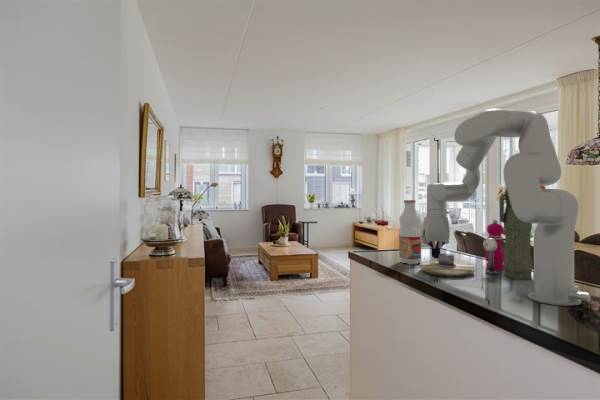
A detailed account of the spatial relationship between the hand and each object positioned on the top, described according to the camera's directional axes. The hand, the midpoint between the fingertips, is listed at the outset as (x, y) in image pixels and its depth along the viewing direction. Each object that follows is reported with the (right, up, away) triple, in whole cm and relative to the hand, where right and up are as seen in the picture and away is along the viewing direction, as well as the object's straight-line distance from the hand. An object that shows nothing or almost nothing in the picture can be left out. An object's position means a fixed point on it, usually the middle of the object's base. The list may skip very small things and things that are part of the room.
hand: (435, 257), depth 151 cm
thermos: (+23, -5, -18) cm, 30 cm away
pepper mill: (+24, -4, -2) cm, 24 cm away
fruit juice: (-7, -4, +12) cm, 15 cm away
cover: (+1, -2, -9) cm, 9 cm away
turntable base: (+1, -4, -8) cm, 9 cm away
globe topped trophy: (+17, -4, -11) cm, 21 cm away
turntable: (+1, -3, -8) cm, 9 cm away
